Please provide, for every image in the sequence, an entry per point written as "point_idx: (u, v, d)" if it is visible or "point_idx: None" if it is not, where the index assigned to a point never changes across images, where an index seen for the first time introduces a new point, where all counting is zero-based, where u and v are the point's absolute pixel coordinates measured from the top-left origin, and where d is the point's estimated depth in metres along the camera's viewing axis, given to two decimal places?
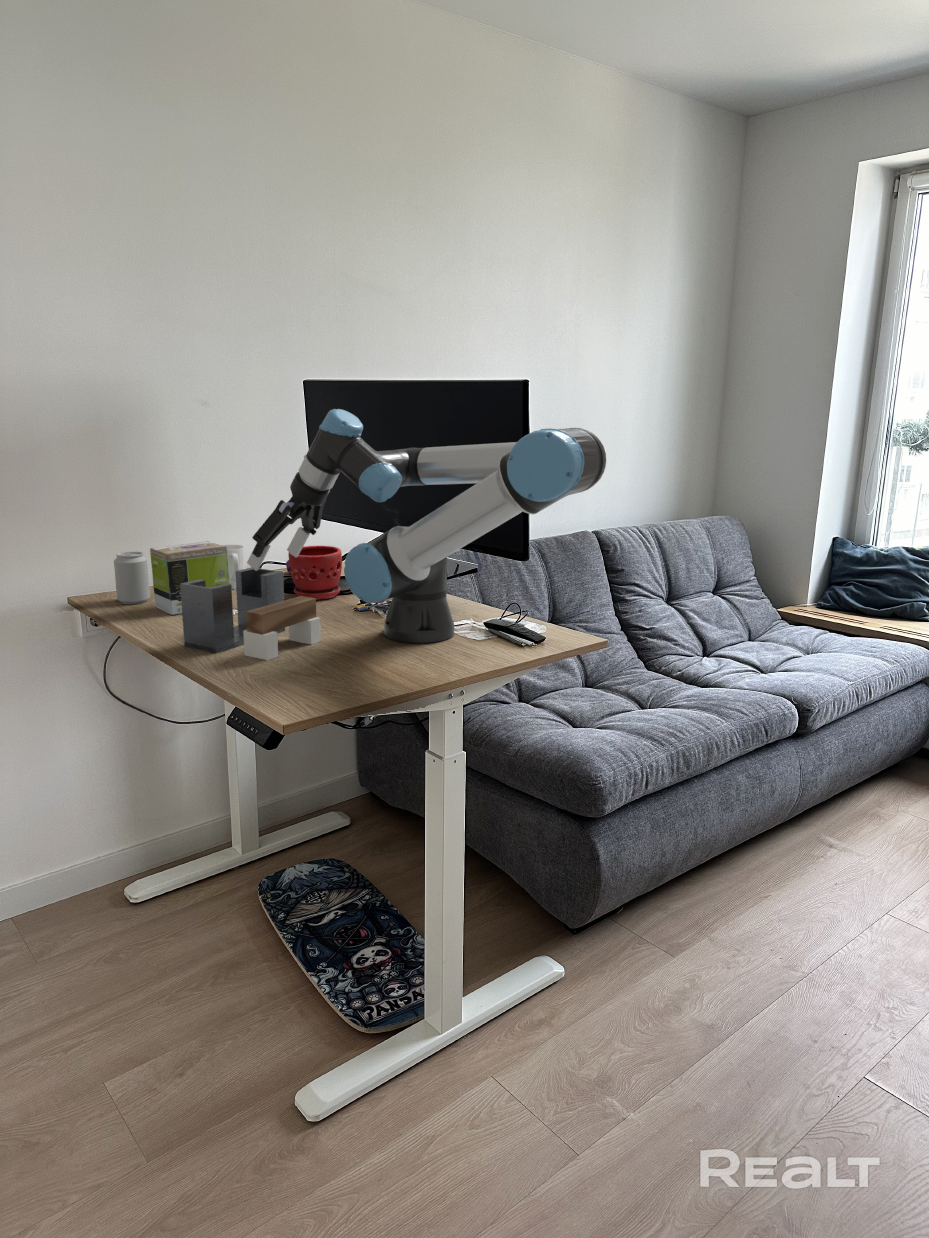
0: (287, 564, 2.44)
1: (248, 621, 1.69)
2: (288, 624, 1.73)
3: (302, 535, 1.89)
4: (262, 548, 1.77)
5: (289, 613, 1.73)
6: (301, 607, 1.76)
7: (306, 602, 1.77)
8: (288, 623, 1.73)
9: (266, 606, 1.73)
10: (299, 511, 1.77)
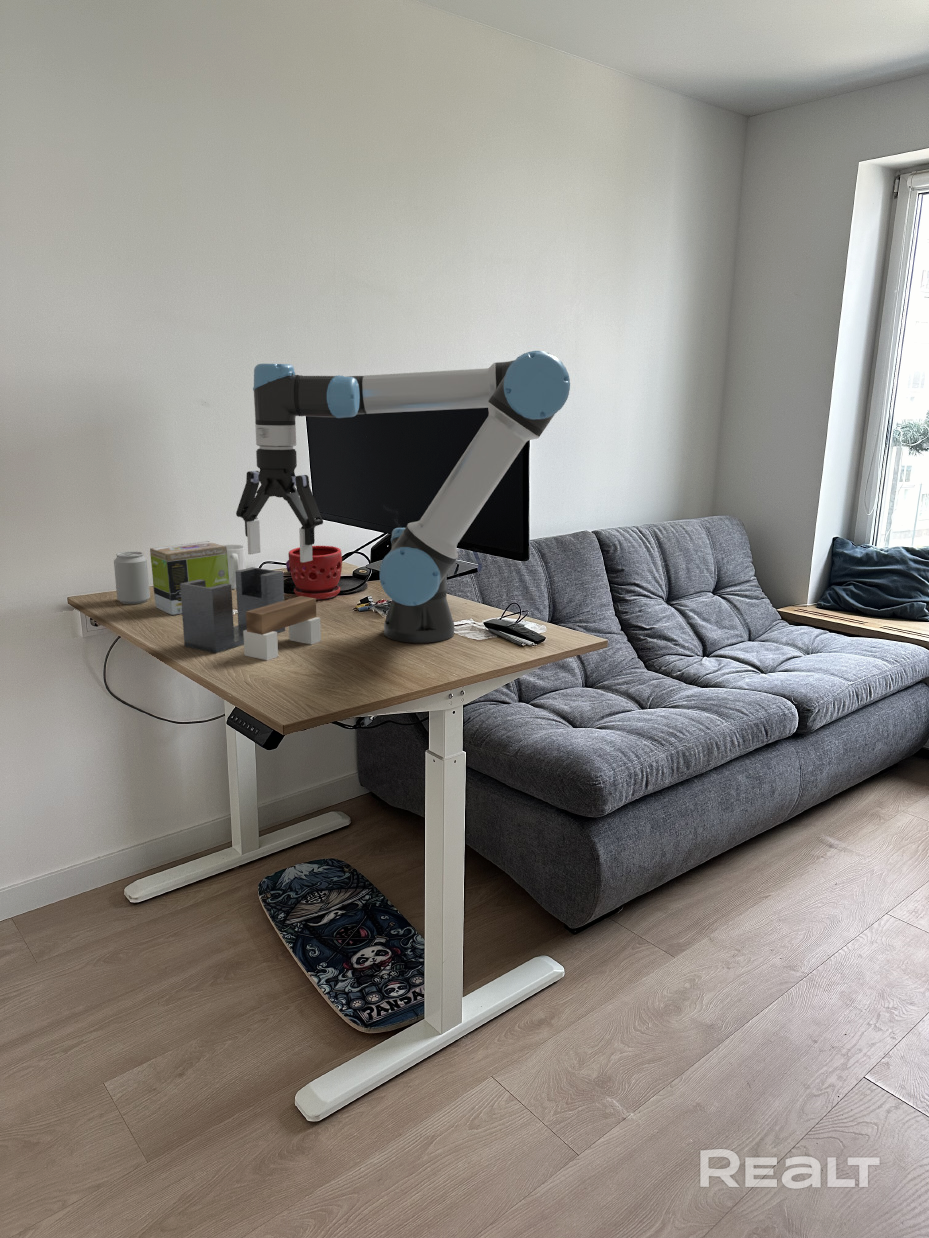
0: (287, 564, 2.44)
1: (248, 621, 1.69)
2: (288, 624, 1.73)
3: (255, 526, 1.74)
4: None
5: (289, 613, 1.73)
6: (301, 607, 1.76)
7: (306, 602, 1.77)
8: (288, 623, 1.73)
9: (266, 606, 1.73)
10: None
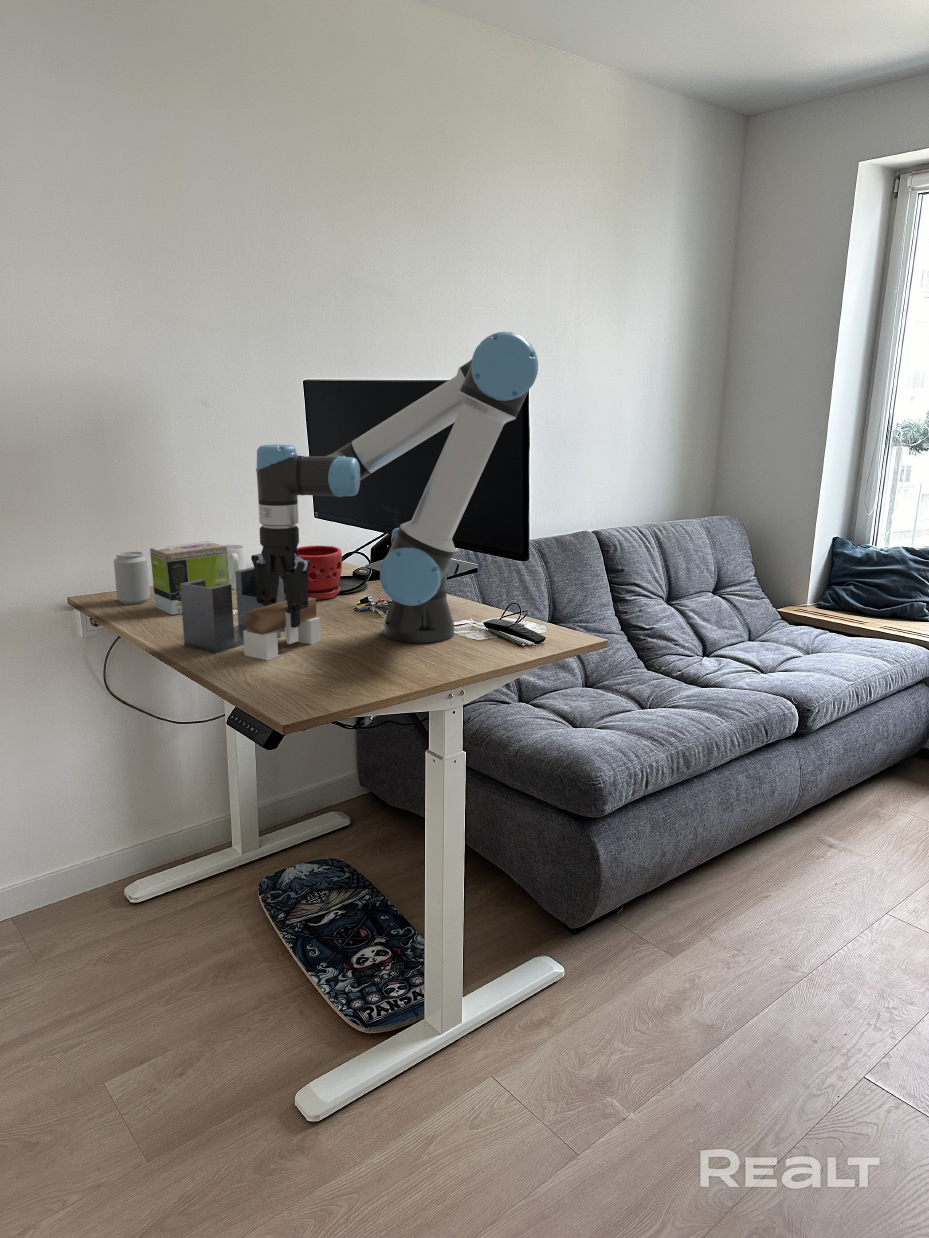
0: None
1: (248, 621, 1.69)
2: None
3: None
4: None
5: None
6: None
7: None
8: None
9: (266, 606, 1.73)
10: None
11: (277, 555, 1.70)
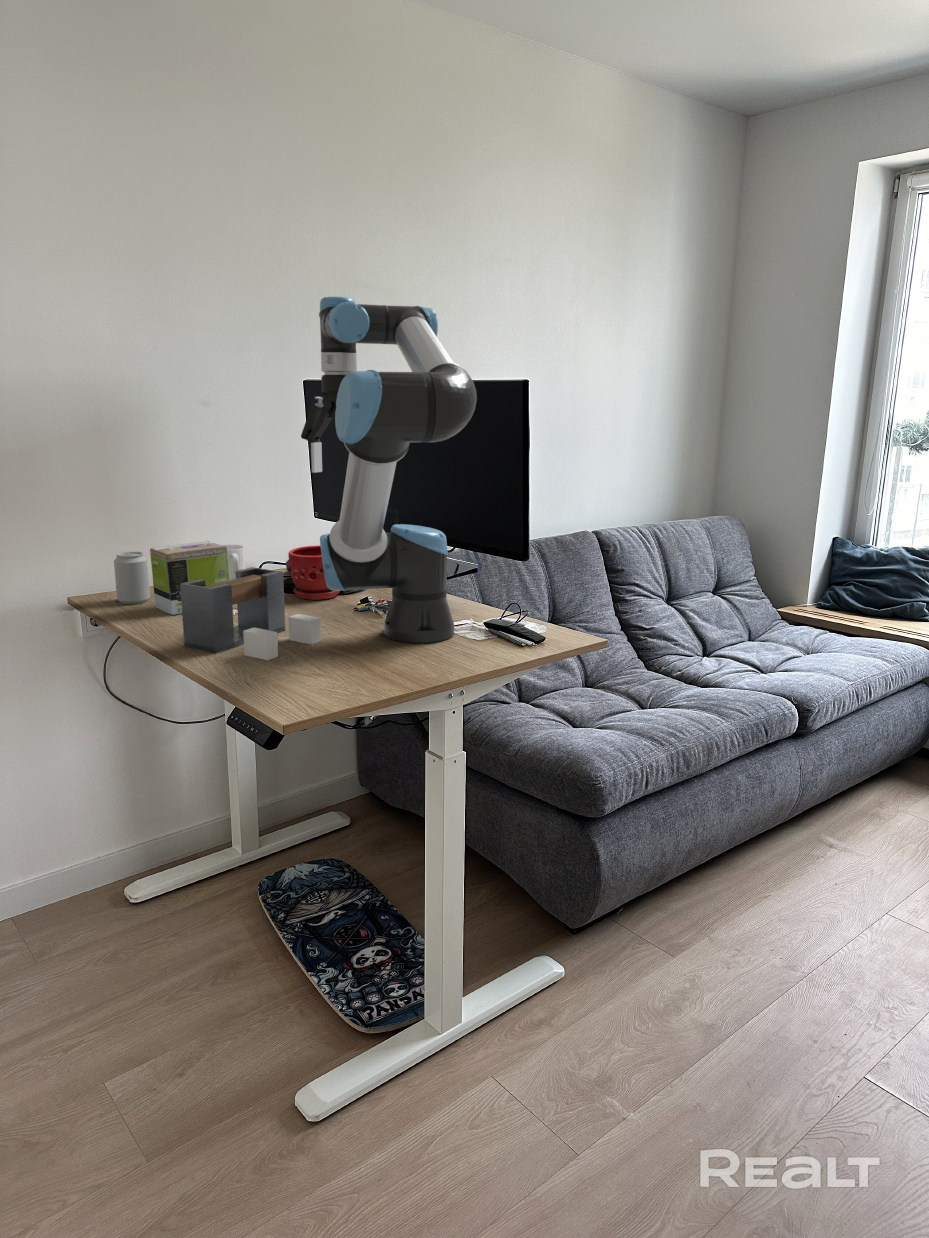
0: (287, 564, 2.44)
1: None
2: (239, 601, 1.79)
3: (318, 447, 1.94)
4: None
5: (241, 590, 1.79)
6: (253, 584, 1.82)
7: (258, 580, 1.83)
8: (239, 600, 1.79)
9: (218, 583, 1.78)
10: None
11: None
